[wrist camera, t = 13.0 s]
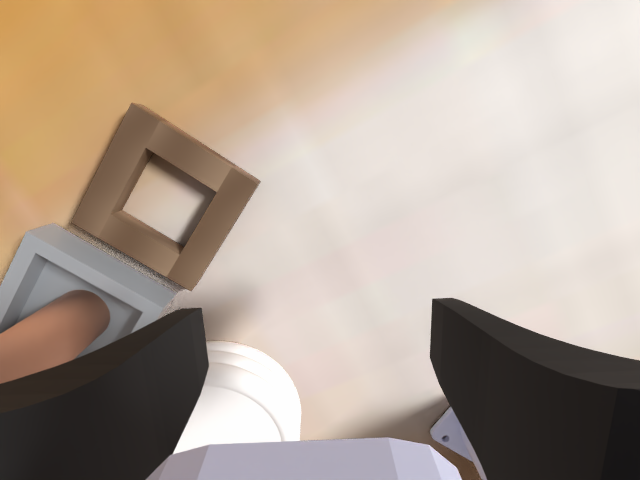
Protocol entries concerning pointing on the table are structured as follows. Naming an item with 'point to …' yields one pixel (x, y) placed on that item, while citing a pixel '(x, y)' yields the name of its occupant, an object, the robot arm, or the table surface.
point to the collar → (121, 177)
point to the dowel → (52, 334)
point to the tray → (78, 283)
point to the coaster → (242, 400)
